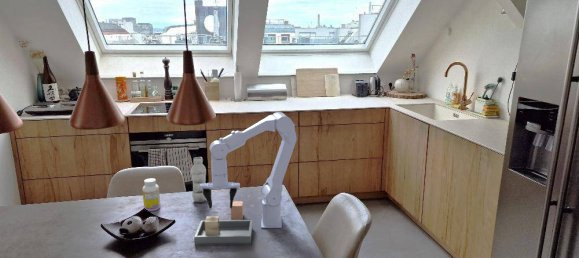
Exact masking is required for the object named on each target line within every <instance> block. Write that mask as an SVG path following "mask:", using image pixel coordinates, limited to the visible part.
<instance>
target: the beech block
mask: <svg viewBox="0 0 579 258" xmlns="http://www.w3.org/2000/svg"><path fill="white" fill-rule="evenodd" d="M204 220H205V236H217V235H219V231H220V230H219V220H220V216H217V215H215V216H212V215H211V216H207V215H206V218H205V219H204Z"/></svg>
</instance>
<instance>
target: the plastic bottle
mask: <svg viewBox="0 0 579 258" xmlns="http://www.w3.org/2000/svg"><path fill="white" fill-rule="evenodd" d="M203 161H204V160H203V157H202V156H197V157H193V165H192V166H191V168H190V173H191V179H192V200H193V202H195V203H204V202H207V200H206V198H205V196H204V195H203V190H200V184H205V183H206V180H207V179H206V176H207V169H206V166H205V165H204V164H203Z"/></svg>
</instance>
